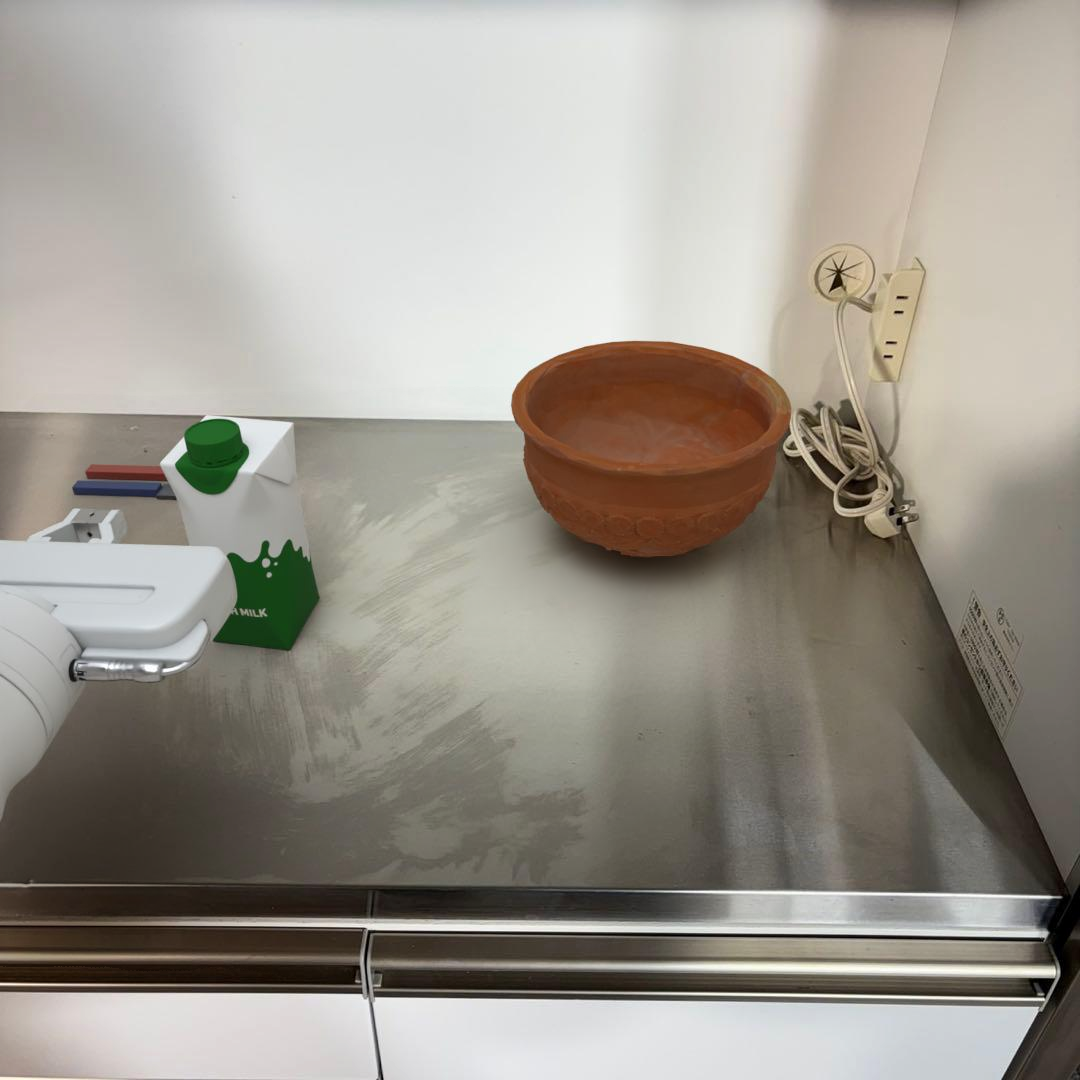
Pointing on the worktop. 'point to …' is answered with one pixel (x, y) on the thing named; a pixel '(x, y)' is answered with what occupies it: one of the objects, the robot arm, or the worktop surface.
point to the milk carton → (248, 521)
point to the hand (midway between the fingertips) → (102, 518)
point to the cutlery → (124, 487)
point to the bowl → (649, 443)
